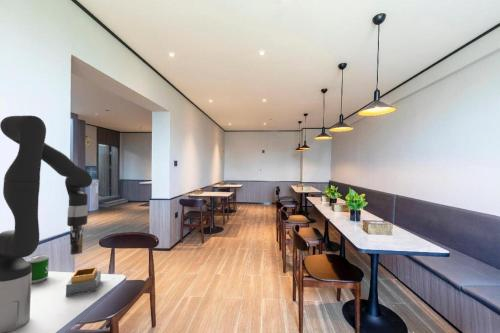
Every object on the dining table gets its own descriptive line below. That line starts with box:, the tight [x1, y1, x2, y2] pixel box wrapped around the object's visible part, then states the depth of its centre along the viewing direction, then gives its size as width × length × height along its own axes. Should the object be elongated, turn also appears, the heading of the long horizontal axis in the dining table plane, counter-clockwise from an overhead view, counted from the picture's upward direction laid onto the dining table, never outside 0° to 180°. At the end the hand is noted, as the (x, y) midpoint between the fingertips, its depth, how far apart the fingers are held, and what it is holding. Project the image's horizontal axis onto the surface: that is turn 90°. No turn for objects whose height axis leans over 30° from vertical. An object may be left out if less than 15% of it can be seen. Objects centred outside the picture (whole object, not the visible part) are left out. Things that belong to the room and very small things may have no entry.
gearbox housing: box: [65, 267, 102, 297], centre depth 104 cm, size 11×11×8 cm
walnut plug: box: [69, 234, 84, 256], centre depth 104 cm, size 4×4×8 cm
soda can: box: [27, 253, 50, 284], centre depth 111 cm, size 8×8×12 cm
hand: (76, 250), depth 104 cm, fingers closed on walnut plug, 4 cm apart
